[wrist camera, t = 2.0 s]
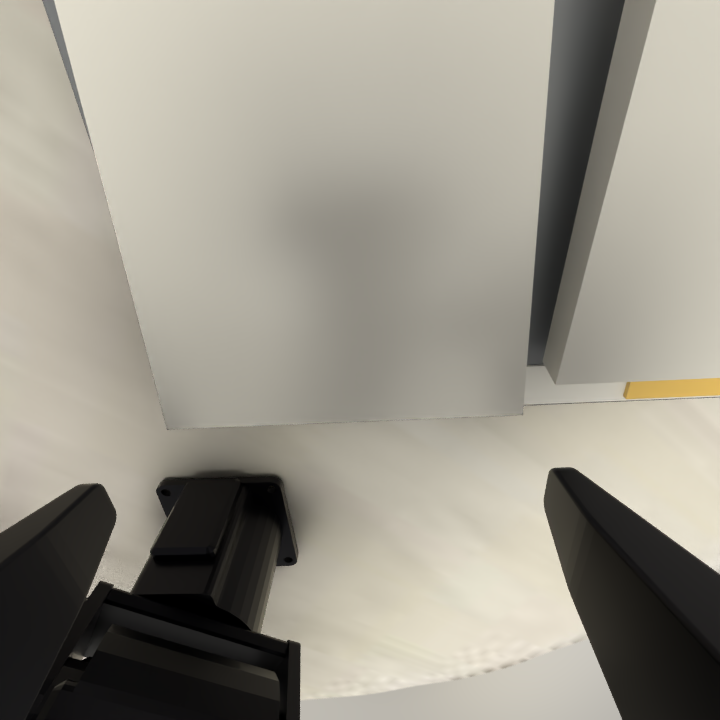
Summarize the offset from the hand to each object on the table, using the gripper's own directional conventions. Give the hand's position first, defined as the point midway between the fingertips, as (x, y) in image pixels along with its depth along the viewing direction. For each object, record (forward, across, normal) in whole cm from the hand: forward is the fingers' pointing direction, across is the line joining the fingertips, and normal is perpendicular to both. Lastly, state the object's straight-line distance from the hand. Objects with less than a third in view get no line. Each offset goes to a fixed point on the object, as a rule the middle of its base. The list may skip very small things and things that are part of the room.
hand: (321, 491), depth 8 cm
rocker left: (+5, 0, -5) cm, 7 cm away
